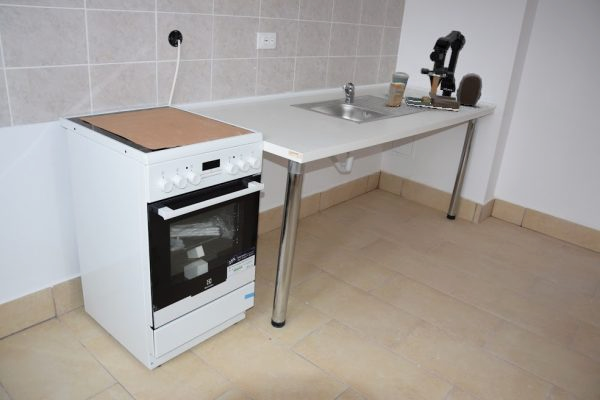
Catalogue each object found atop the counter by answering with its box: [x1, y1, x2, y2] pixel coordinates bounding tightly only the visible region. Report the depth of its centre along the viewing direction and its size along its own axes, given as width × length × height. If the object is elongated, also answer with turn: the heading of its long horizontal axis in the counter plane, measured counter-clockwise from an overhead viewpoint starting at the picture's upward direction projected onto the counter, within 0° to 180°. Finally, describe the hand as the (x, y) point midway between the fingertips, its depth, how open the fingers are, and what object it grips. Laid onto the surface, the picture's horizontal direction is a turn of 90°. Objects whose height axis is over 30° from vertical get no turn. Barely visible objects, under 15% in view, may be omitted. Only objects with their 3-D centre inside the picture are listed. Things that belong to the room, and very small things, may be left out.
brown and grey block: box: [428, 75, 440, 98], centre depth 293 cm, size 10×3×12 cm, turn 175°
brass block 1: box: [420, 95, 430, 103], centre depth 300 cm, size 4×4×4 cm
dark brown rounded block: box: [455, 72, 483, 107], centre depth 308 cm, size 15×8×20 cm, turn 76°
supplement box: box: [386, 82, 406, 108], centre depth 285 cm, size 8×5×13 cm, turn 129°
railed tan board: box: [429, 94, 461, 110], centre depth 297 cm, size 15×15×6 cm
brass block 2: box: [422, 97, 431, 104], centre depth 294 cm, size 4×4×4 cm
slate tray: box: [404, 96, 434, 106], centre depth 298 cm, size 14×16×2 cm
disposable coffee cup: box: [391, 71, 410, 92], centre depth 310 cm, size 11×11×15 cm
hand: (434, 87), depth 294 cm, fingers closed on brown and grey block, 3 cm apart
